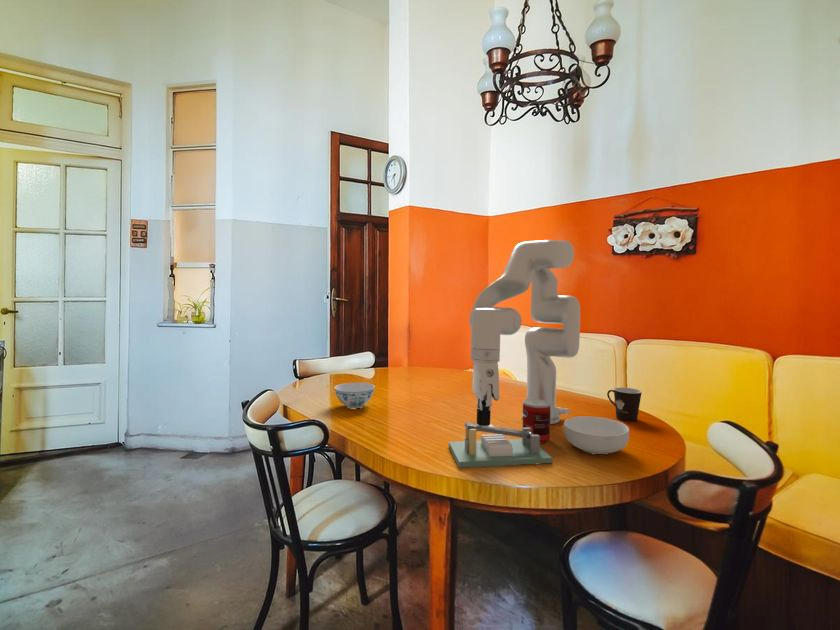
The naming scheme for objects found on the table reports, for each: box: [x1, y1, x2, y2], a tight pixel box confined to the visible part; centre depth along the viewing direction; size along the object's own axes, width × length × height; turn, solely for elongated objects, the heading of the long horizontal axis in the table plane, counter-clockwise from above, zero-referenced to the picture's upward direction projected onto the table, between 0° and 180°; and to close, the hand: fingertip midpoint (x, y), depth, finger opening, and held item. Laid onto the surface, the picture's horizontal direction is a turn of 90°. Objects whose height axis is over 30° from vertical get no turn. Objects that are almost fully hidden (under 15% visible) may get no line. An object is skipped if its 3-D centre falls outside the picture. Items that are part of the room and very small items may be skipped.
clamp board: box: [448, 426, 553, 469], centre depth 110 cm, size 24×14×8 cm, turn 96°
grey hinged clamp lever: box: [464, 421, 534, 439], centre depth 110 cm, size 19×4×2 cm, turn 97°
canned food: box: [522, 398, 551, 443], centre depth 123 cm, size 8×8×11 cm
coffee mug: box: [606, 387, 642, 423], centre depth 144 cm, size 12×9×10 cm
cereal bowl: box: [563, 415, 630, 455], centre depth 114 cm, size 17×17×7 cm
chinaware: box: [334, 382, 376, 409], centre depth 156 cm, size 15×15×8 cm
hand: (483, 424), depth 109 cm, fingers closed
